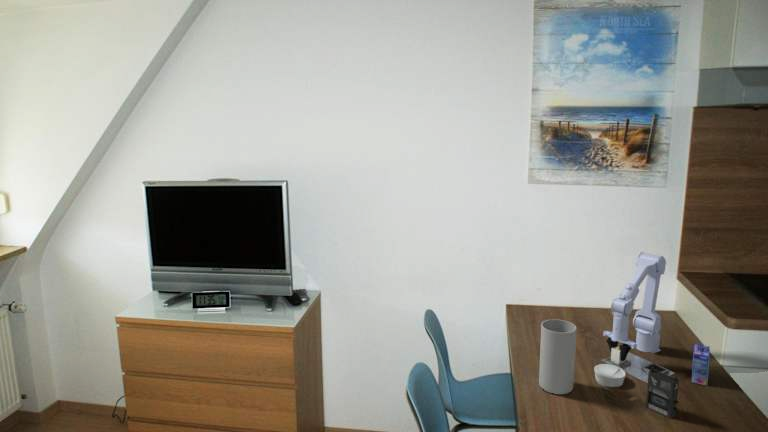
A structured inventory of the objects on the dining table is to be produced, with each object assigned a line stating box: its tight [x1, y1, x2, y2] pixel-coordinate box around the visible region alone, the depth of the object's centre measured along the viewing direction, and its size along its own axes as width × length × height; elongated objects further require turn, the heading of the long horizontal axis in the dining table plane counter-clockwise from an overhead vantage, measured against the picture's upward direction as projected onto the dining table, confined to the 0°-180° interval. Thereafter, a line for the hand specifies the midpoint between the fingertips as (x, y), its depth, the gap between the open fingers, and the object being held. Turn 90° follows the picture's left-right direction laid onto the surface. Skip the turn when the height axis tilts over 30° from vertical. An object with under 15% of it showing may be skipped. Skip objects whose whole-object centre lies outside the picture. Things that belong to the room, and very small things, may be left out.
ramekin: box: [593, 363, 627, 389], centre depth 199 cm, size 11×11×5 cm
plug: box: [610, 345, 626, 365], centre depth 213 cm, size 4×4×7 cm
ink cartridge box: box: [691, 341, 711, 386], centre depth 200 cm, size 10×6×14 cm, turn 148°
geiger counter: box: [645, 367, 680, 419], centre depth 179 cm, size 10×4×15 cm, turn 35°
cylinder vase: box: [538, 318, 577, 395], centre depth 195 cm, size 12×12×25 cm
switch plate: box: [601, 351, 676, 384], centre depth 210 cm, size 16×22×2 cm
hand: (618, 357), depth 213 cm, fingers closed on plug, 4 cm apart
